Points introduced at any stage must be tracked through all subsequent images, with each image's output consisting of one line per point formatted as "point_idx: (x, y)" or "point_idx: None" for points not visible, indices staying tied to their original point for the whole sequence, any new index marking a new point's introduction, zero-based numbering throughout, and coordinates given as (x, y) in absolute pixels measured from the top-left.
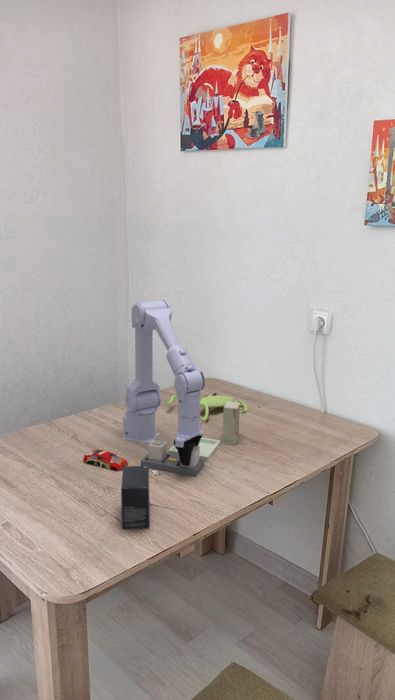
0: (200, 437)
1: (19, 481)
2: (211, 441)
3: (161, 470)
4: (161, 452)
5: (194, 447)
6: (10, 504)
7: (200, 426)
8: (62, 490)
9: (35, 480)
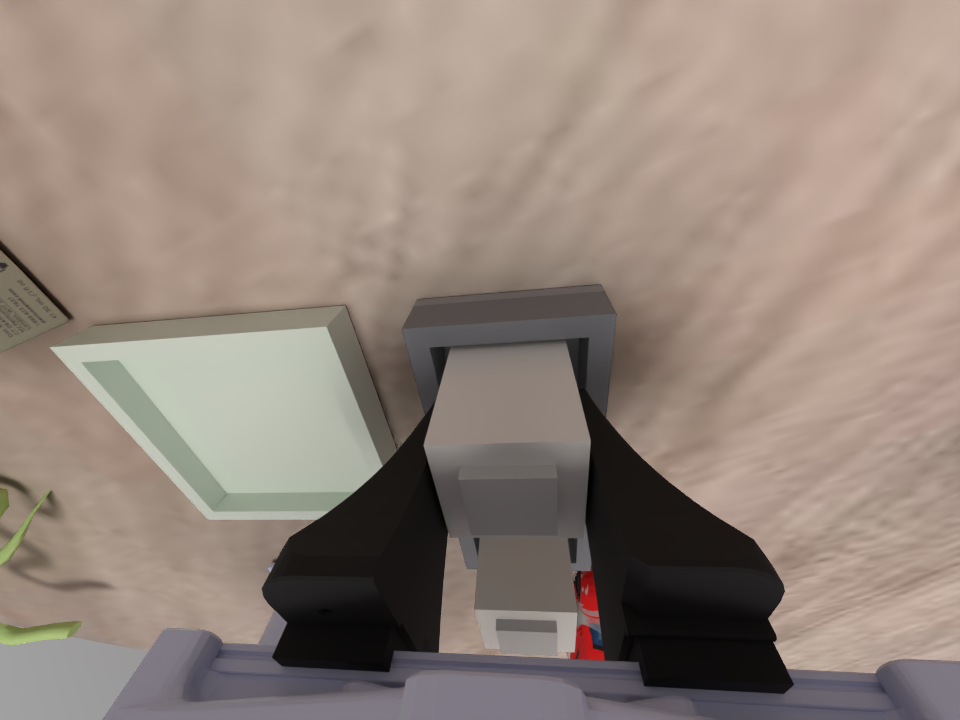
0: (385, 550)
1: None
2: (118, 390)
3: None
4: (571, 572)
5: (502, 481)
6: None
7: (169, 649)
8: (819, 630)
9: None
